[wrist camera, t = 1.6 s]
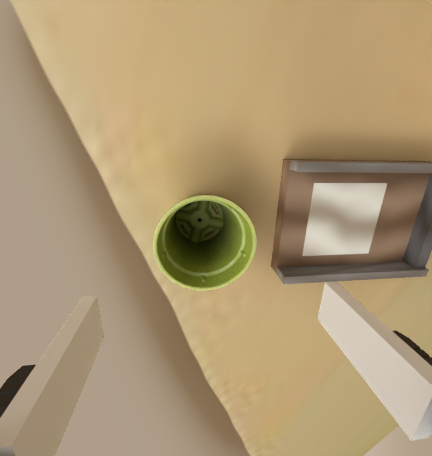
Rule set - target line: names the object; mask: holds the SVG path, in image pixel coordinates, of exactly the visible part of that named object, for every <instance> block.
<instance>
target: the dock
mask: <svg viewBox="0 0 432 456" xmlns="http://www.w3.org/2000/svg"><path fill="white" fill-rule="evenodd" d="M431 250H432V162H426V161H365V160H303V159H283V168H282V176H281V185H280V194H279V202H278V211H277V219H276V228H275V237H274V245H273V254H272V262H271V267H272V268H273V270H274V271H275V272H276V274H277V275H278V277H279V278H280V280H281V281H282V282H283V284H296V283H314V282H332V281H350V280H368V279H385V278H403V277H421V276H426V275H427V273H428V269H426V268H425V266H426V264H427V261H428V258H429V256H430V253H431Z"/></svg>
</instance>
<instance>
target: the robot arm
mask: <svg viewBox="0 0 432 456" xmlns="http://www.w3.org/2000/svg"><path fill="white" fill-rule="evenodd" d="M318 321H319V322H320V323H321V324H322V326H323V327H324V328H325V330H326V331H327V332H328V333H329V335H330V336H331V337H332V339H333V340H334V341H335V342H336V344H337V345H338V346H339V348H340V349H341V350H342V352H343V353H344V354H345V355H346V357H347V358H348V359H349V361H350V362H351V363H352V364H353V366H354V367H355V368H356V370H357V371H358V372H359V374H360V375H361V376H362V377H363V379H364V380H365V381H366V383H367V384H368V385H369V386H370V388H371V389H372V390H373V392H374V393H375V394H376V396H377V397H378V398H379V399H380V401H381V402H382V403H383V405H384V406H385V407H386V408H387V410H388V411H389V412H390V414H391V415H392V416H393V417H394V419H395V420H396V421H397V423H398V424H399V425H400V427H401V428H402V429H403V430H404V432H405V433H406V434H407V436H408V437H409V438H410V439H411V441H412V440H418V439H424V438H429V437H430V435H431V433H432V358H430V357H429V355H428V354H427V353H426V352H425V351H423V350H421V349H420V347H419V346H418V345H416V344H415V343H414V342H413V341H412V340H410V339H409V338H408V337H406V336H404V335H403V334H401V333H399V332H397V331H392V330H390V329H389V328H388V327H387V326H386V325H385V324H384V323H383V322H381V321H380V320H379V319H378V318H377V317H376V316H375V315H374V314H372V313H371V312H370V311H369V310H368V309H367V308H366V307H365V306H363V305H362V304H361V303H360V302H359V301H358V300H357V299H356V298H354V297H353V296H352V295H351V294H350V293H349V292H348V291H347V290H345V289H344V288H343V287H342V286H341V285H340V284H339V283H338V282H325V285H324V290H323V295H322V300H321V305H320V310H319V315H318ZM103 338H104V335H103V329H102V323H101V317H100V311H99V306H98V300H97V296H88V297H81V298H80V300H79V301H78V303H77V305H76V306H75V307H74V309H73V310H72V312H71V313H70V315H69V316H68V318H67V319H66V321H65V322H64V324H63V325H62V327H61V328H60V330H59V331H58V333H57V334H56V336H55V337H54V339H53V340H52V342H51V343H50V345H49V346H48V348H47V349H46V351H45V352H44V354H43V355H42V357H41V358H40V360H39V361H38V363H37V364H36V365H28V366H22V367H21V368H20V369H18V370H17V371H16V372H15V373H14V374H13V375H12V376H10V377H9V378H8V379H7V380H6V382H5V383H4V384H3V386H2V387H1V388H0V456H55V454H56V451H57V449H58V446H59V444H60V442H61V439H62V437H63V434H64V432H65V430H66V427H67V425H68V422H69V420H70V418H71V415H72V413H73V410H74V408H75V405H76V403H77V401H78V398H79V396H80V393H81V391H82V388H83V386H84V384H85V381H86V379H87V376H88V374H89V371H90V369H91V366H92V364H93V362H94V359H95V357H96V355H97V352H98V350H99V347H100V345H101V342H102V340H103Z"/></svg>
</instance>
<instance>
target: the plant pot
mask: <svg viewBox="0 0 432 456" xmlns="http://www.w3.org/2000/svg"><path fill="white" fill-rule="evenodd" d="M192 202H194V203H192ZM189 203H192V204H190V205H189V206H187V207H186V208H184V206H185V205H187V204H189ZM212 205H215V206H216V208H217V210H218V214H216V212H215V210H214V208H213V207H212ZM198 218H201V219H202V221H200V222H198V221H197V220H198ZM181 224H182V225H183V226H184V228H185V230H186V231H187V232H188V233H185V232H184V231H183V230H182V229H181ZM212 230H214V232H213V233H212V234H210V235H209V236H207V237H205V234H207V233H209V232H211V231H212ZM256 245H257V238H256V232H255V228H254V225H253V223H252V221H251V219H250V218H249V216H248V215H247V214H246V213H245V212H244V211H243V210H242V209H241V208H240V207H239V206H238V205H236V204H235V203H233V202H232V201H230V200H228V199H225V198H223V197H219V196H214V195H194V196H191V197H189V198H187V199H184V200H182V201H180V202H178V203H177V204H175V205H174V206H173V207H171V208H170V209H169V210H168V211H167V212H166V213H165V214H164V216H163V217H162V219H161V220H160V222H159V224H158V226H157V228H156V230H155V234H154V239H153V253H154V257H155V260H156V262H157V264H158V266H159V268H160V270H161V271H162V272H163V274H164V275H166V276H167V278H169V279H170V280H171V281H172V282H174V283H176V284H178V285H180V286H182V287H184V288H187V289H191V290H198V291H206V290H213V289H218V288H222V287H224V286H226V285H228V284H230V283H232V282H234V281H235V280H236V279H238V278H239V277H240V276H241V275H242V274H243V273H244V272H245V271H246V270H247V268H248V267H249V265H250V263H251V262H252V260H253V257H254V255H255V251H256Z"/></svg>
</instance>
